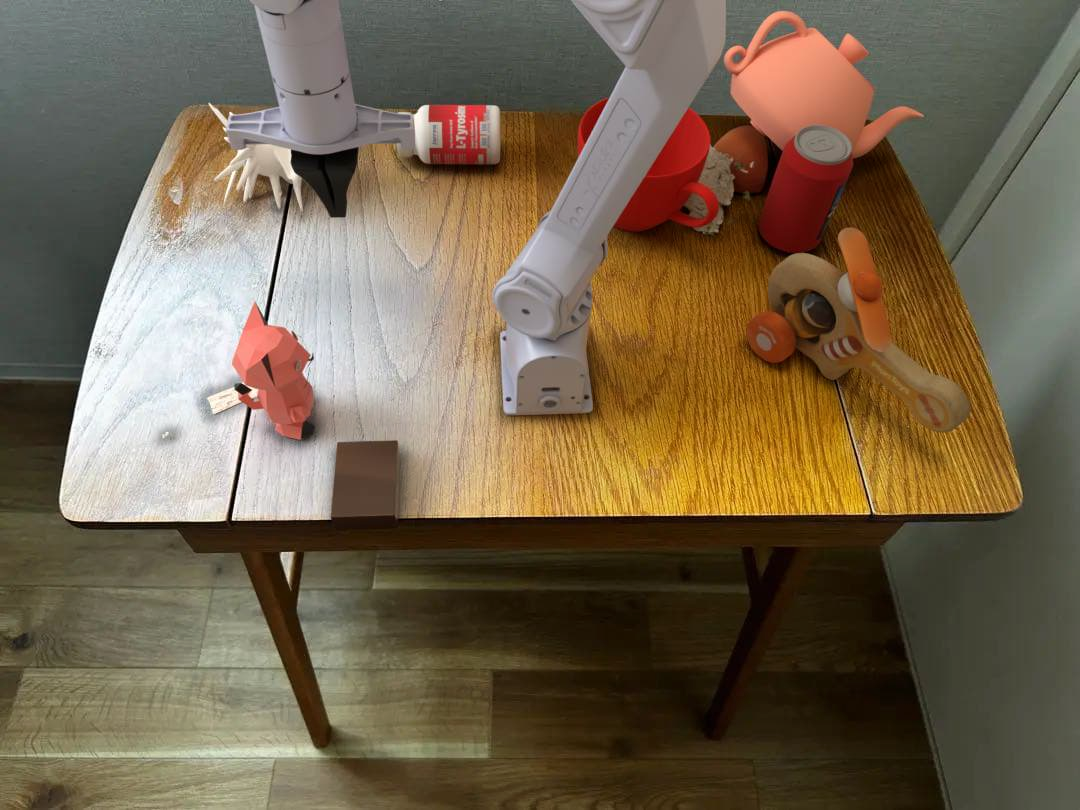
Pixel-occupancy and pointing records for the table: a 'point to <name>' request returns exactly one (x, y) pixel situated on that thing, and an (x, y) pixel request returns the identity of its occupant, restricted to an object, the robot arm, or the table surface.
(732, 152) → the brown egg
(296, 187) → the spiky ball
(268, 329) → the cat figurine
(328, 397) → the table surface
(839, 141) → the beverage can
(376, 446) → the walnut block
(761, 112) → the teapot
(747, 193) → the stone fragment
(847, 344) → the toy helicopter
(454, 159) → the pill bottle
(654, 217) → the ceramic cup
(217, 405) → the card
